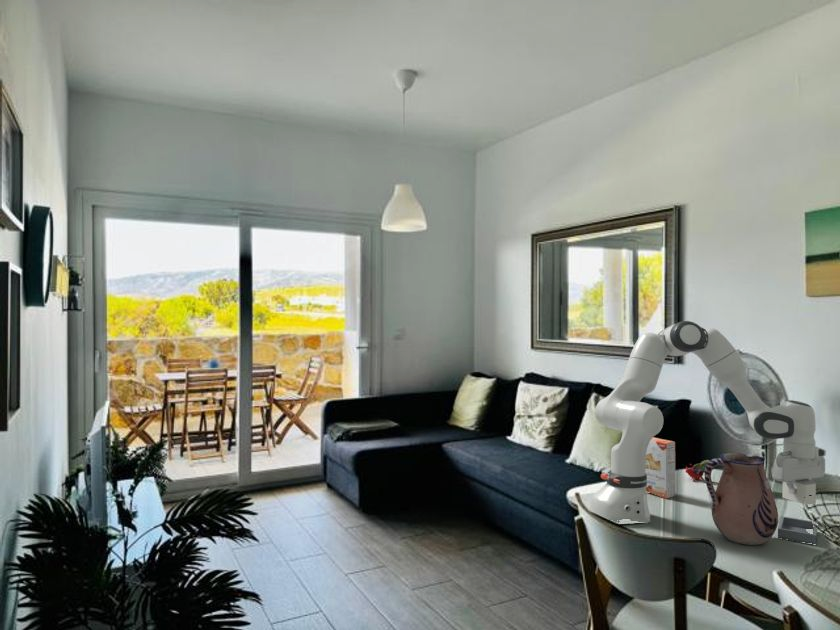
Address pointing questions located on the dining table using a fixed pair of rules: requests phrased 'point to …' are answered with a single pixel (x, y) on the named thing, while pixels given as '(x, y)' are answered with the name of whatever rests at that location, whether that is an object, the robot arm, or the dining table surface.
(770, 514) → the ceramic pitcher
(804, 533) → the charcoal tray
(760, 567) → the dining table surface
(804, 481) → the caddy
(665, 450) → the cracker box
